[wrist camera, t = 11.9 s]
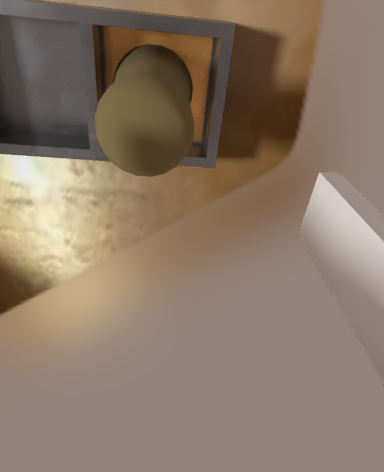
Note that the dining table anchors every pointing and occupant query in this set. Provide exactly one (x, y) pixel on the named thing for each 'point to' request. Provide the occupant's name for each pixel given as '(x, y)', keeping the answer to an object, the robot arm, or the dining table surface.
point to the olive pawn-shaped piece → (147, 112)
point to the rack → (98, 74)
